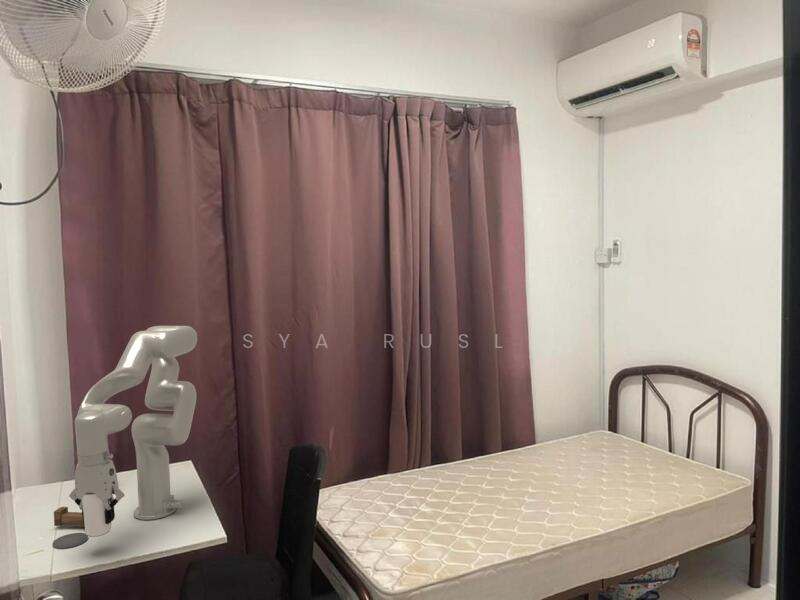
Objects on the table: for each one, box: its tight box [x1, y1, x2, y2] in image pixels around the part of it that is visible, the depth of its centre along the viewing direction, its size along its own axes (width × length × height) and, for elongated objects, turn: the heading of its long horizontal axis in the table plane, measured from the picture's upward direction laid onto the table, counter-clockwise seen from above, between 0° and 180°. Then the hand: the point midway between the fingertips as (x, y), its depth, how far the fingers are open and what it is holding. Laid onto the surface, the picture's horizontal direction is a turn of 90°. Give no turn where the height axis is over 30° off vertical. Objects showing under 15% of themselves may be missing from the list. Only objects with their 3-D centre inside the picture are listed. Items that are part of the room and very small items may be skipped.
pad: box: [52, 532, 89, 550], centre depth 174 cm, size 9×9×1 cm
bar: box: [53, 506, 85, 527], centre depth 183 cm, size 4×11×4 cm, turn 83°
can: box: [82, 493, 113, 538], centre depth 166 cm, size 6×6×12 cm
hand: (99, 520), depth 166 cm, fingers closed on can, 5 cm apart
